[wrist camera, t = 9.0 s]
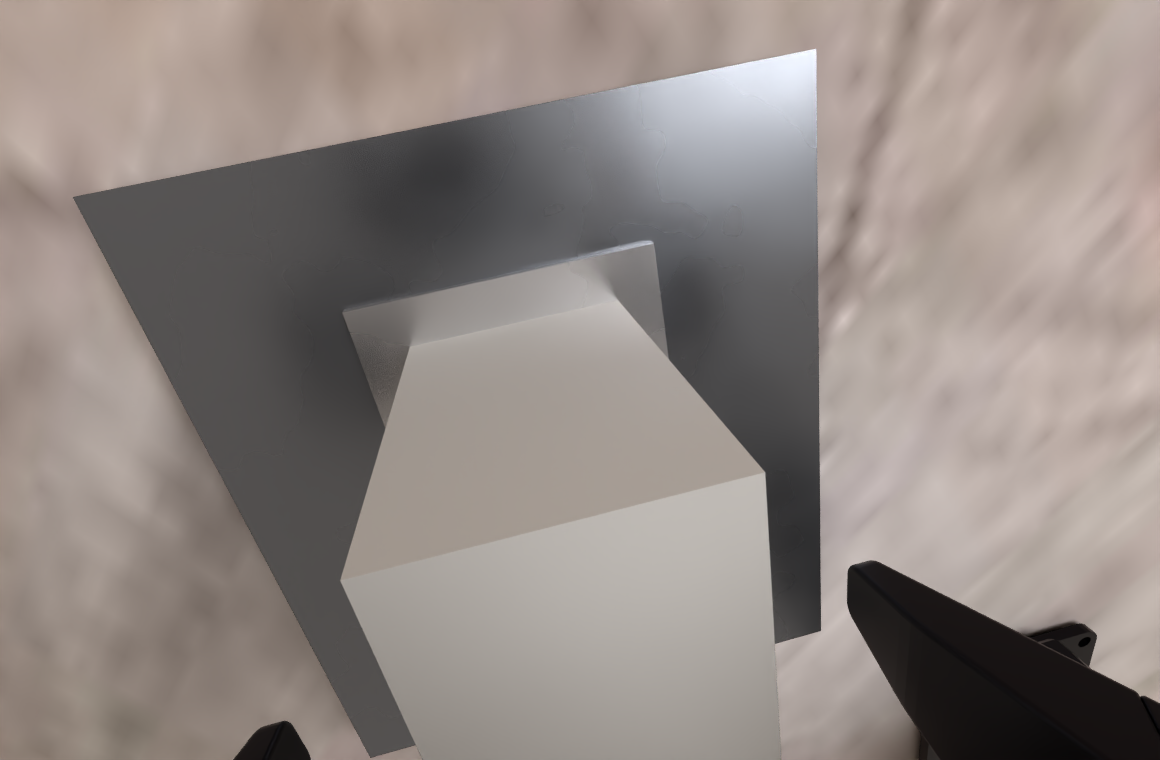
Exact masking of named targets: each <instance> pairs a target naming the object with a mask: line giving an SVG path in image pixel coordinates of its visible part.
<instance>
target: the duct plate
mask: <svg viewBox="0 0 1160 760" xmlns="http://www.w3.org/2000/svg"><path fill="white" fill-rule="evenodd" d="M73 198H74V200H75V202H76V204H77V206H78V208H79V210H80V212H81V213H82V215H83V217H84V219H85V221H86V223H87V225H88V227H89V229H90V230H91V232H92V234H93V236H94V238H95V240H96V242H97V244H98V245H99V247H100V249H101V251H102V253H103V255H104V257H105V259H106V261H107V262H108V264H109V266H110V268H111V270H112V272H113V274H114V276H115V278H116V279H117V281H118V283H119V285H120V287H121V289H122V291H123V293H124V294H125V296H126V298H127V300H128V302H129V304H130V306H131V308H132V310H133V311H134V313H135V315H136V317H137V319H138V321H139V323H140V325H141V326H142V328H143V330H144V332H145V334H146V336H147V338H148V340H149V342H150V343H151V345H152V347H153V349H154V351H155V353H156V355H157V357H158V359H159V360H160V362H161V364H162V366H163V368H164V370H165V372H166V374H167V375H168V377H169V379H170V381H171V383H172V385H173V387H174V389H175V391H176V392H177V394H178V396H179V398H180V400H181V402H182V404H183V406H184V407H185V409H186V411H187V413H188V415H189V417H190V419H191V421H192V423H193V424H194V426H195V428H196V430H197V432H198V434H199V436H200V438H201V440H202V441H203V443H204V445H205V447H206V449H207V451H208V453H209V455H210V456H211V458H212V460H213V462H214V464H215V466H216V468H217V470H218V472H219V473H220V475H221V477H222V479H223V481H224V483H225V485H226V487H227V489H228V490H229V492H230V494H231V496H232V498H233V500H234V502H235V504H236V505H237V507H238V509H239V511H240V513H241V515H242V517H243V519H244V521H245V522H246V524H247V526H248V528H249V530H250V532H251V534H252V536H253V537H254V539H255V541H256V543H257V545H258V547H259V549H260V551H261V553H262V554H263V556H264V558H265V560H266V562H267V564H268V566H269V568H270V570H271V571H272V573H273V575H274V577H275V579H276V581H277V583H278V585H279V586H280V588H281V590H282V592H283V594H284V596H285V598H286V600H287V602H288V603H289V605H290V607H291V609H292V611H293V613H294V615H295V617H296V618H297V620H298V622H299V624H300V626H301V628H302V630H303V632H304V634H305V635H306V637H307V639H308V641H309V643H310V645H311V647H312V649H313V651H314V652H315V654H316V656H317V658H318V660H319V662H320V664H321V666H322V667H323V669H324V671H325V673H326V675H327V677H328V679H329V681H330V683H331V684H332V686H333V688H334V690H335V692H336V694H337V696H338V698H339V700H340V701H341V703H342V705H343V707H344V709H345V711H346V713H347V715H348V716H349V718H350V720H351V722H352V724H353V726H354V728H355V730H356V732H357V733H358V735H359V737H360V739H361V741H362V743H363V745H364V747H365V748H366V750H367V752H368V754H369V756H370V758H372V757H375V756H379V755H382V754H386V753H389V752H393V751H396V750H400V749H403V748H407V747H411V746H414V745H416V744H415V742H414V740H413V738H412V736H411V734H410V731H409V729H408V727H407V725H406V723H405V720H404V718H403V716H402V714H401V712H400V710H399V707H398V705H397V703H396V701H395V699H394V697H393V694H392V692H391V690H390V688H389V686H388V684H387V681H386V679H385V677H384V675H383V673H382V670H381V668H380V666H379V664H378V662H377V660H376V657H375V655H374V653H373V651H372V649H371V647H370V644H369V642H368V640H367V638H366V636H365V634H364V631H363V629H362V627H361V625H360V623H359V620H358V618H357V616H356V614H355V612H354V610H353V607H352V605H351V603H350V601H349V599H348V597H347V594H346V592H345V590H344V588H343V586H342V584H341V581H340V580H341V576H342V573H343V569H344V566H345V563H346V559H347V556H348V553H349V549H350V546H351V543H352V539H353V536H354V533H355V529H356V526H357V523H358V519H359V516H360V512H361V509H362V506H363V502H364V499H365V496H366V492H367V489H368V486H369V482H370V479H371V476H372V472H373V469H374V465H375V462H376V459H377V455H378V452H379V449H380V445H381V442H382V439H383V435H384V432H385V429H386V425H387V422H388V418H389V415H390V412H391V408H392V405H393V402H394V398H395V395H396V392H397V388H398V385H399V382H400V378H401V375H402V371H403V368H404V365H405V361H406V358H407V355H408V351H409V348H410V347H411V346H416V345H420V344H425V343H429V342H434V341H438V340H442V339H447V338H451V337H456V336H460V335H465V334H469V333H473V332H478V331H482V330H487V329H491V328H496V327H500V326H504V325H509V324H513V323H518V322H522V321H527V320H531V319H535V318H540V317H544V316H549V315H553V314H558V313H562V312H567V311H571V310H575V309H580V308H584V307H589V306H593V305H598V304H602V303H606V302H611V301H615V300H618V301H619V302H620V303H621V304H622V305H623V307H624V308H625V309H626V310H627V311H628V312H629V314H630V315H631V316H632V317H633V318H634V319H635V321H636V322H637V323H638V324H639V325H640V326H641V328H642V329H643V330H644V331H645V332H646V333H647V335H648V336H649V337H650V338H651V339H652V340H653V342H654V343H655V344H656V345H657V346H658V347H659V349H660V350H661V351H662V352H663V353H664V354H665V356H666V357H667V358H668V359H669V360H670V362H671V363H672V364H673V365H674V366H675V367H676V369H677V370H678V371H679V372H680V373H681V374H682V376H683V377H684V378H685V379H686V380H687V381H688V383H689V384H690V385H691V386H692V387H693V388H694V390H695V391H696V392H697V393H698V394H699V395H700V397H701V398H702V399H703V400H704V401H705V402H706V404H707V405H708V406H709V407H710V408H711V409H712V411H713V412H714V413H715V414H716V415H717V416H718V418H719V419H720V420H721V421H722V422H723V424H724V425H725V426H726V427H727V428H728V429H729V431H730V432H731V433H732V434H733V435H734V436H735V438H736V439H737V440H738V441H739V442H740V443H741V445H742V446H743V447H744V448H745V449H746V450H747V452H748V453H749V454H750V455H751V456H752V457H753V459H754V460H755V461H756V462H757V463H758V464H759V466H760V467H761V468H762V469H763V470H764V471H765V477H766V495H767V513H768V531H769V549H770V567H771V585H772V602H773V620H774V638H775V644H776V643H779V642H783V641H786V640H790V639H794V638H797V637H801V636H804V635H808V634H811V633H815V632H818V631H821V583H820V461H819V339H818V217H817V95H816V49H813V50H808V51H803V52H798V53H793V54H788V55H783V56H778V57H773V58H768V59H763V60H758V61H753V62H748V63H743V64H738V65H733V66H728V67H723V68H718V69H713V70H708V71H703V72H698V73H693V74H688V75H683V76H678V77H673V78H668V79H663V80H658V81H653V82H648V83H643V84H638V85H633V86H628V87H623V88H618V89H613V90H608V91H603V92H598V93H593V94H588V95H583V96H578V97H573V98H568V99H563V100H558V101H553V102H547V103H542V104H537V105H532V106H527V107H522V108H517V109H512V110H507V111H502V112H497V113H492V114H487V115H482V116H477V117H472V118H467V119H462V120H457V121H452V122H447V123H442V124H437V125H432V126H427V127H422V128H417V129H412V130H407V131H402V132H397V133H392V134H387V135H382V136H377V137H372V138H367V139H362V140H357V141H352V142H347V143H342V144H337V145H332V146H327V147H322V148H317V149H312V150H307V151H302V152H297V153H292V154H287V155H282V156H277V157H272V158H267V159H262V160H256V161H251V162H246V163H241V164H236V165H231V166H226V167H221V168H216V169H211V170H206V171H201V172H196V173H191V174H186V175H181V176H176V177H171V178H166V179H161V180H156V181H151V182H146V183H141V184H136V185H131V186H126V187H121V188H116V189H111V190H106V191H101V192H96V193H91V194H86V195H81V196H76V197H73Z"/></svg>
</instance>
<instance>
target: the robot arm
mask: <svg viewBox="0 0 1160 760" xmlns="http://www.w3.org/2000/svg"><path fill="white" fill-rule="evenodd" d="M847 605H848V609H849V612H850V614H851V617H852V619H853V620H854V622H855V624H856V626H857V627H858V629H859V631H860V633H861V634H862V636H863V638H864V640H865V641H866V643H867V645H868V647H869V648H870V650H871V652H872V654H873V656H874V657H875V659H876V661H877V663H878V664H879V666H880V668H881V670H882V671H883V673H884V675H885V677H886V678H887V680H888V682H889V684H890V685H891V687H892V689H893V691H894V692H895V694H896V696H897V697H898V699H899V701H900V702H901V704H902V706H903V707H904V709H905V710H906V712H907V713H908V715H909V716H910V718H911V719H912V721H913V722H914V724H915V725H916V727H917V728H918V730H919V731H920V732H921V734H922V736H921V745H920V755H919V760H1160V703H1158V702H1156V701H1154V700H1152V699H1150V698H1148V697H1146V696H1139V694H1138V693H1137V692H1136V691H1134V690H1132V689H1130V688H1128V687H1126V686H1124V685H1122V684H1120V683H1118V682H1116V681H1114V680H1112V679H1110V678H1108V677H1106V676H1104V675H1102V674H1100V673H1098V672H1096V671H1094V670H1092V669H1091V668H1090V667H1089V665H1090V661H1091V657H1092V654H1093V650H1094V646H1095V643H1096V639H1097V635H1096V634H1095V632H1093V631H1092V630H1091V629H1090V628H1088V627H1087V626H1086V625H1085V624H1076V625H1072V626H1069V627H1065V628H1062V629H1058V630H1055V631H1052V632H1048V633H1045V634H1041V635H1038V636H1034V637H1031V638H1029V637H1027V636H1025V635H1023V634H1021V633H1019V632H1017V631H1015V630H1013V629H1011V628H1009V627H1007V626H1005V625H1003V624H1001V623H999V622H997V621H995V620H993V619H991V618H989V617H987V616H985V615H983V614H981V613H979V612H977V611H975V610H973V609H971V608H969V607H967V606H965V605H963V604H961V603H959V602H957V601H955V600H953V599H951V598H949V597H947V596H945V595H943V594H941V593H939V592H937V591H935V590H933V589H931V588H929V587H927V586H925V585H923V584H921V583H919V582H917V581H915V580H913V579H911V578H909V577H907V576H905V575H903V574H901V573H899V572H897V571H895V570H893V569H892V568H890V567H888V566H886V565H884V564H882V563H880V562H877V561H872V560H871V561H866V562H862V563H859V564H855V565H852V566H850V568H849V570H848V581H847ZM233 760H311V759H310V755H309V752H308V750H307V749H306V747H305V745H304V744H303V742H302V740H301V739H300V737H299V735H298V734H297V732H296V730H295V729H294V727H293V725H292V724H291V723H289V722H288V721H282V722H278V723H274V724H271V725H267V726H264V727H261V728H260V729H258V730H257V731H256V732H255V733H254V734H253V735H252V737H251V738H250V739H249V740H248V742H247V743H246V744H245V746H244V747H243V748H242V749H241V751H240V752H239V753H238V754H237V756H236V757H235V758H234V759H233Z"/></svg>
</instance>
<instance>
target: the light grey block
mask: <svg viewBox="0 0 1160 760" xmlns="http://www.w3.org/2000/svg"><path fill="white" fill-rule="evenodd" d="M340 581H341V584H342V586H343V588H344V590H345V592H346V594H347V597H348V599H349V601H350V603H351V605H352V607H353V610H354V612H355V614H356V616H357V618H358V620H359V623H360V625H361V627H362V629H363V631H364V634H365V636H366V638H367V640H368V642H369V644H370V647H371V649H372V651H373V653H374V655H375V657H376V660H377V662H378V664H379V666H380V668H381V670H382V673H383V675H384V677H385V679H386V681H387V684H388V686H389V688H390V690H391V692H392V694H393V697H394V699H395V701H396V703H397V705H398V707H399V710H400V712H401V714H402V716H403V718H404V720H405V723H406V725H407V727H408V729H409V731H410V734H411V736H412V738H413V740H414V742H415V744H416V747H417V749H418V751H419V753H420V755H421V757H422V760H781V745H780V727H779V710H778V692H777V674H776V656H775V638H774V620H773V602H772V585H771V567H770V549H769V531H768V513H767V495H766V477H765V471H764V470H763V469H762V468H761V467H760V466H759V464H758V463H757V462H756V461H755V460H754V459H753V457H752V456H751V455H750V454H749V453H748V452H747V450H746V449H745V448H744V447H743V446H742V445H741V443H740V442H739V441H738V440H737V439H736V438H735V436H734V435H733V434H732V433H731V432H730V431H729V429H728V428H727V427H726V426H725V425H724V424H723V422H722V421H721V420H720V419H719V418H718V416H717V415H716V414H715V413H714V412H713V411H712V409H711V408H710V407H709V406H708V405H707V404H706V402H705V401H704V400H703V399H702V398H701V397H700V395H699V394H698V393H697V392H696V391H695V390H694V388H693V387H692V386H691V385H690V384H689V383H688V381H687V380H686V379H685V378H684V377H683V376H682V374H681V373H680V372H679V371H678V370H677V369H676V367H675V366H674V365H673V364H672V363H671V362H670V360H669V359H668V358H667V357H666V356H665V354H664V353H663V352H662V351H661V350H660V349H659V347H658V346H657V345H656V344H655V343H654V342H653V340H652V339H651V338H650V337H649V336H648V335H647V333H646V332H645V331H644V330H643V329H642V328H641V326H640V325H639V324H638V323H637V322H636V321H635V319H634V318H633V317H632V316H631V315H630V314H629V312H628V311H627V310H626V309H625V308H624V307H623V305H622V304H621V303H620V302H619V301H618V300H615V301H611V302H606V303H602V304H598V305H593V306H589V307H584V308H580V309H575V310H571V311H567V312H562V313H558V314H553V315H549V316H544V317H540V318H535V319H531V320H527V321H522V322H518V323H513V324H509V325H504V326H500V327H496V328H491V329H487V330H482V331H478V332H473V333H469V334H465V335H460V336H456V337H451V338H447V339H442V340H438V341H434V342H429V343H425V344H420V345H416V346H411V347H410V348H409V351H408V355H407V358H406V361H405V365H404V368H403V371H402V375H401V378H400V382H399V385H398V388H397V392H396V395H395V398H394V402H393V405H392V408H391V412H390V415H389V418H388V422H387V425H386V429H385V432H384V435H383V439H382V442H381V445H380V449H379V452H378V455H377V459H376V462H375V465H374V469H373V472H372V476H371V479H370V482H369V486H368V489H367V492H366V496H365V499H364V502H363V506H362V509H361V512H360V516H359V519H358V523H357V526H356V529H355V533H354V536H353V539H352V543H351V546H350V549H349V553H348V556H347V559H346V563H345V566H344V569H343V573H342V576H341V580H340Z"/></svg>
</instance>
